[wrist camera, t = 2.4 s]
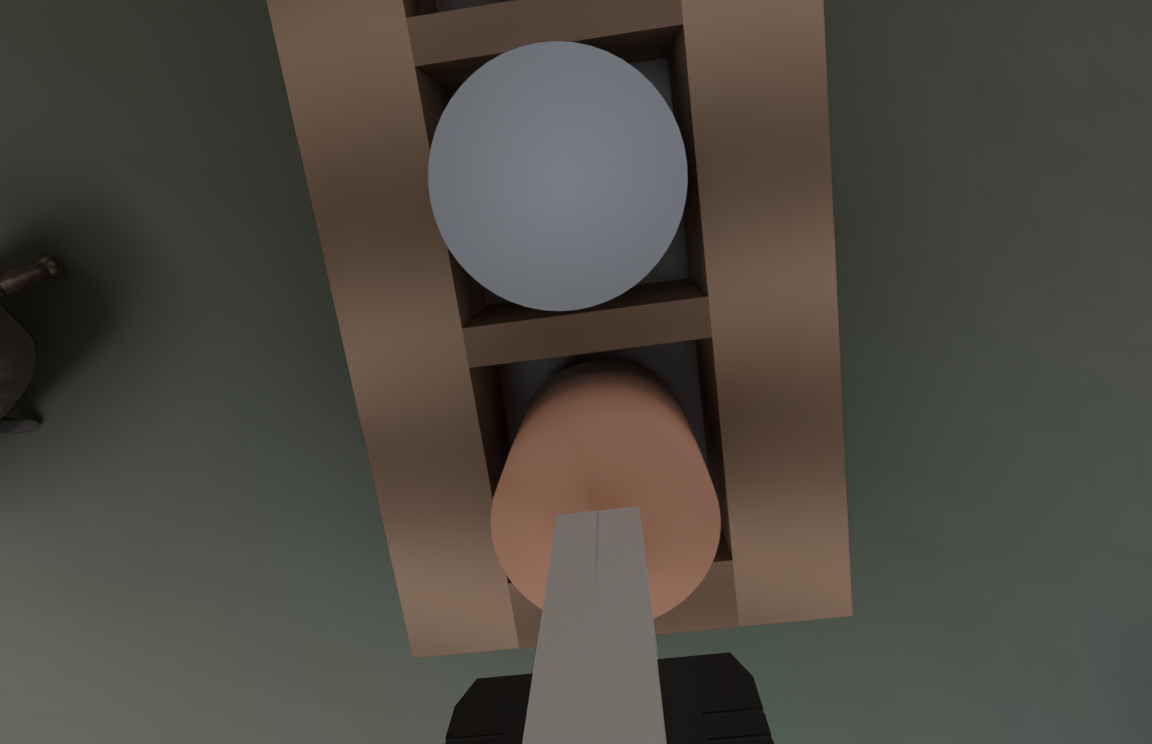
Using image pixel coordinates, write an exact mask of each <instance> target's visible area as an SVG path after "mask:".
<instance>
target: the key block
mask: <svg viewBox="0 0 1152 744" xmlns="http://www.w3.org/2000/svg"><path fill="white" fill-rule="evenodd" d="M266 1H267V5H268V10H269V14H270V19H271V23H272V28H273V32H274V37H275V41H276V46H277V50H278V55H279V59H280V64H281V68H282V73H283V77H284V82H285V86H286V91H287V95H288V100H289V104H290V109H291V113H292V118H293V122H294V126H295V131H296V135H297V140H298V144H299V149H300V153H301V158H302V162H303V167H304V171H305V176H306V180H307V185H308V189H309V194H310V198H311V203H312V207H313V212H314V216H315V221H316V225H317V230H318V234H319V239H320V243H321V248H322V252H323V257H324V261H325V265H326V270H327V274H328V279H329V283H330V288H331V292H332V297H333V301H334V306H335V310H336V315H337V319H338V324H339V328H340V333H341V337H342V342H343V346H344V351H345V355H346V360H347V364H348V369H349V373H350V378H351V382H352V387H353V391H354V395H355V400H356V404H357V409H358V413H359V418H360V422H361V427H362V431H363V436H364V440H365V445H366V449H367V454H368V458H369V463H370V467H371V472H372V476H373V481H374V485H375V490H376V494H377V499H378V503H379V508H380V512H381V517H382V521H383V525H384V530H385V534H386V539H387V543H388V548H389V552H390V557H391V561H392V566H393V570H394V575H395V579H396V584H397V588H398V593H399V597H400V602H401V606H402V611H403V615H404V620H405V624H406V629H407V633H408V638H409V642H410V647H411V651H412V655H413V658H423V657H433V656H443V655H454V654H464V653H474V652H485V651H495V650H505V649H516V648H526V647H536V646H537V642H538V636H539V629H540V622H541V616H542V609H540V608H539V607H537V606H536V605H535V604H533V603H532V602H531V601H529V600H528V599H527V598H526V597H525V596H524V595H523V594H522V593H521V592H520V591H519V590H518V589H517V588H516V587H515V586H514V585H513V583H512V582H511V581H510V579H509V578H508V577H507V575H506V573H505V571H504V570H503V568H502V566H501V564H500V562H499V560H498V557H497V555H496V552H495V548H494V544H493V540H492V533H491V509H492V503H493V498H494V495H495V492H496V489H497V486H498V483H499V480H500V477H501V475H502V472H503V469H504V466H505V464H506V461H507V458H508V455H509V453H510V450H511V447H512V444H513V442H514V439H515V436H516V433H517V431H518V428H519V425H520V422H521V420H522V417H523V414H524V412H525V410H526V408H527V405H528V403H529V402H530V400H531V399H532V397H533V396H534V394H535V393H536V392H537V391H538V389H539V388H540V387H541V386H542V385H543V384H544V383H545V382H546V381H548V380H549V379H550V378H551V377H553V376H554V375H556V374H557V373H559V372H560V371H562V370H564V369H566V368H569V367H571V366H574V365H577V364H580V363H583V362H589V361H595V360H614V361H621V362H626V363H630V364H633V365H636V366H639V367H641V368H643V369H645V370H647V371H649V372H651V373H652V374H654V375H655V376H657V377H658V378H659V379H661V380H662V381H663V382H664V383H665V384H666V385H667V386H668V387H669V388H670V389H671V390H672V391H673V392H674V393H675V395H676V396H677V398H678V399H679V401H680V402H681V404H682V406H683V408H684V410H685V413H686V415H687V418H688V420H689V423H690V426H691V428H692V431H693V434H694V436H695V439H696V441H697V444H698V447H699V449H700V452H701V455H702V457H703V460H704V462H705V465H706V468H707V470H708V473H709V476H710V478H711V481H712V483H713V486H714V489H715V492H716V495H717V498H718V503H719V508H720V516H721V530H720V539H719V544H718V548H717V551H716V555H715V557H714V560H713V562H712V564H711V567H710V569H709V570H708V572H707V574H706V575H705V577H704V579H703V580H702V581H701V583H700V584H699V585H698V586H697V588H696V589H695V590H694V591H693V592H692V593H691V594H690V595H689V596H688V597H687V598H686V599H685V600H684V601H682V602H681V603H680V604H678V605H677V606H676V607H674V608H673V609H671V610H669V611H668V612H666V613H664V614H662V615H660V616H658V617H656V618H653V620H654V628H655V635H660V634H671V633H681V632H691V631H702V630H712V629H722V628H733V627H743V626H753V625H764V624H774V623H784V622H795V621H805V620H815V619H826V618H836V617H846V616H852V596H851V575H850V554H849V533H848V511H847V490H846V469H845V448H844V427H843V405H842V384H841V363H840V342H839V321H838V299H837V278H836V257H835V236H834V214H833V193H832V172H831V151H830V130H829V108H828V87H827V66H826V45H825V24H824V2H823V0H266ZM551 41H562V42H575V43H580V44H585V45H590V46H593V47H596V48H599V49H601V50H604V51H607V52H609V53H611V54H613V55H615V56H617V57H619V58H621V59H623V60H624V61H626V62H627V63H628V64H630V65H631V66H633V67H634V68H635V69H637V70H638V71H639V72H640V73H641V74H642V75H643V76H645V77H646V78H647V79H648V80H649V81H650V82H651V83H652V84H653V86H654V87H655V88H656V89H657V91H658V92H659V93H660V94H661V96H662V97H663V98H664V100H665V102H666V103H667V105H668V107H669V108H670V110H671V112H672V114H673V116H674V118H675V120H676V123H677V125H678V127H679V130H680V133H681V136H682V140H683V143H684V147H685V153H686V160H687V175H688V183H687V194H686V201H685V206H684V210H683V215H682V218H681V221H680V223H679V226H678V229H677V232H676V234H675V236H674V238H673V240H672V242H671V244H670V246H669V248H668V249H667V251H666V252H665V253H664V255H663V256H662V258H661V259H660V261H659V262H658V263H657V264H656V265H655V267H654V268H653V269H652V270H651V271H650V272H649V273H648V274H647V275H646V276H645V277H644V278H643V279H642V280H640V281H639V282H638V283H637V284H636V285H635V286H633V287H632V288H630V289H629V290H627V291H626V292H624V293H623V294H621V295H619V296H617V297H615V298H613V299H611V300H609V301H607V302H604V303H601V304H598V305H595V306H592V307H588V308H583V309H578V310H569V311H548V310H539V309H534V308H529V307H525V306H522V305H519V304H516V303H513V302H510V301H508V300H506V299H504V298H502V297H500V296H498V295H496V294H494V293H493V292H491V291H490V290H488V289H487V288H485V287H484V286H482V285H481V284H480V283H479V282H478V281H476V280H475V279H474V278H473V277H472V276H471V275H469V273H468V272H467V271H466V270H465V269H464V268H463V267H462V266H461V265H460V264H459V263H458V261H457V260H456V258H455V257H454V255H453V254H452V253H451V251H450V250H449V248H448V246H447V245H446V243H445V241H444V239H443V237H442V235H441V233H440V231H439V228H438V225H437V223H436V220H435V218H434V214H433V210H432V206H431V202H430V194H429V186H428V164H429V157H430V149H431V145H432V141H433V137H434V134H435V130H436V128H437V125H438V123H439V120H440V118H441V116H442V114H443V112H444V110H445V108H446V107H447V105H448V103H449V101H450V100H451V98H452V97H453V96H454V94H455V93H456V92H457V90H458V89H459V88H460V86H461V85H462V84H463V83H464V82H465V81H466V80H467V79H468V78H469V77H470V76H471V75H472V74H473V73H474V72H475V71H477V70H478V69H479V68H481V67H482V66H483V65H485V64H486V63H487V62H489V61H490V60H492V59H494V58H496V57H498V56H499V55H501V54H503V53H505V52H508V51H510V50H513V49H516V48H518V47H521V46H525V45H530V44H534V43H540V42H551Z"/></svg>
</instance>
